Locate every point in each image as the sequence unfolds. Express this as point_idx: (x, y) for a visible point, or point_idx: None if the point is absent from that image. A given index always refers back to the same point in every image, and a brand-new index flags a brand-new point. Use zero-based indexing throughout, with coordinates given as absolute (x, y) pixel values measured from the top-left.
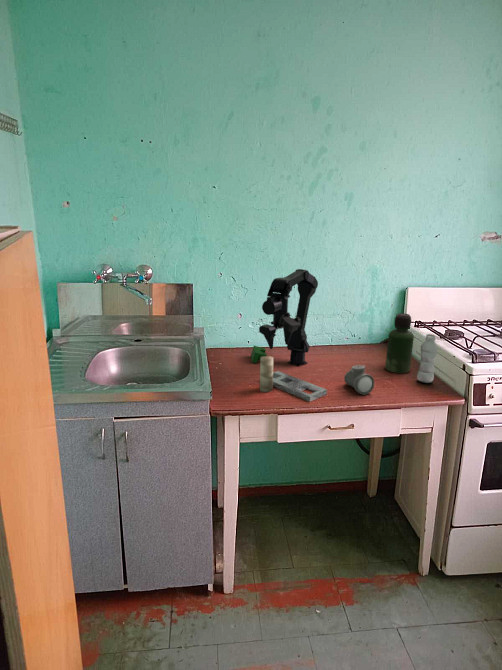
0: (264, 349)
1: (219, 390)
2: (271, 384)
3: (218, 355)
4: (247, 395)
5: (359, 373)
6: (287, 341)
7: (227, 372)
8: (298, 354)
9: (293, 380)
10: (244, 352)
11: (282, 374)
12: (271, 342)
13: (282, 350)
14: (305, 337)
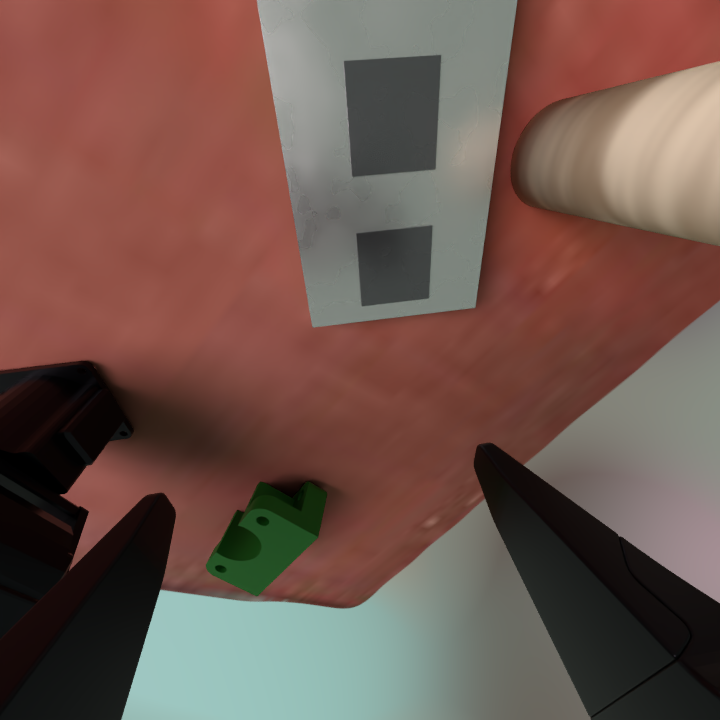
0: (217, 559)
1: (690, 314)
2: (605, 89)
3: (380, 569)
4: None
5: None
6: (137, 544)
7: None
8: (18, 434)
9: (345, 61)
10: None
11: (330, 255)
12: (617, 535)
13: (80, 550)
14: None
